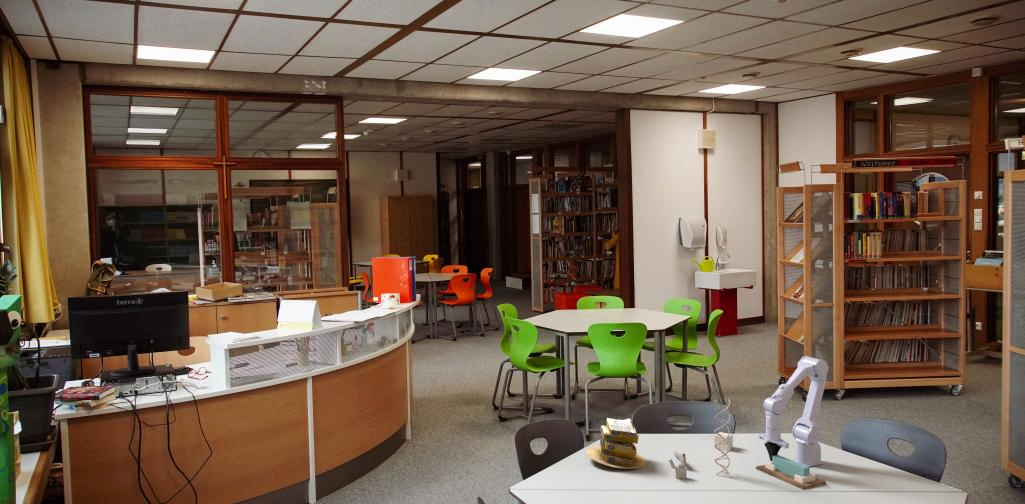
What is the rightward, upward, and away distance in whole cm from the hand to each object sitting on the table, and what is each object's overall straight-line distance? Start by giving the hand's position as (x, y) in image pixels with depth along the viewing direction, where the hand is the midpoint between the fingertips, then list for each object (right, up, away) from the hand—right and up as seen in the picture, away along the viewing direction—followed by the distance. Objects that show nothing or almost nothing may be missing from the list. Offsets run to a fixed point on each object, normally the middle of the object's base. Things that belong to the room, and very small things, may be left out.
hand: (773, 460), depth 286 cm
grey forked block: (-41, -4, -9) cm, 42 cm away
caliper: (-36, -4, +11) cm, 37 cm away
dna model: (-22, -4, -4) cm, 23 cm away
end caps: (+4, -4, -8) cm, 10 cm away
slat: (+4, -3, -8) cm, 10 cm away
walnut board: (+4, -4, -8) cm, 10 cm away
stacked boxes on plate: (-62, -4, +11) cm, 63 cm away
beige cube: (-12, -3, +27) cm, 29 cm away
